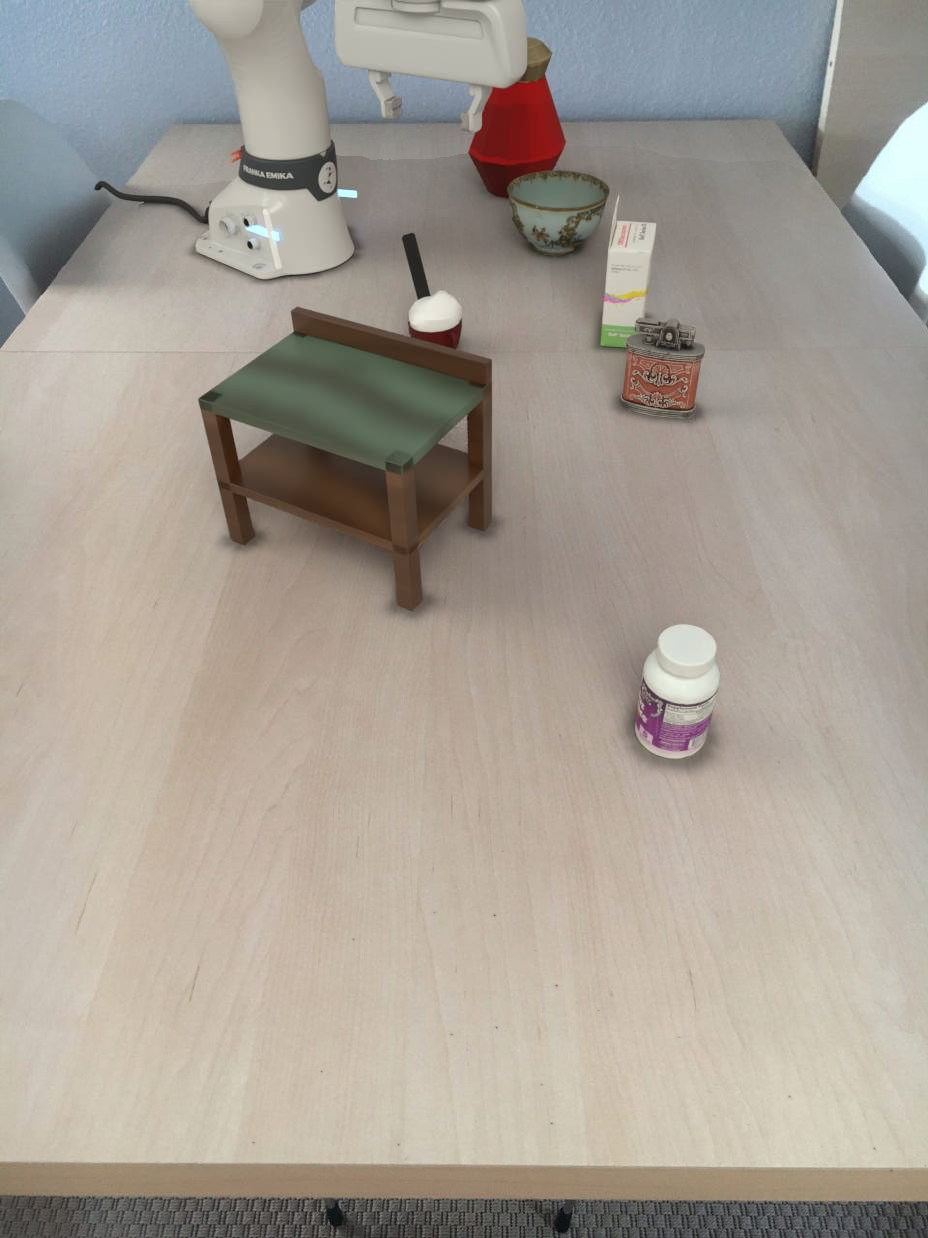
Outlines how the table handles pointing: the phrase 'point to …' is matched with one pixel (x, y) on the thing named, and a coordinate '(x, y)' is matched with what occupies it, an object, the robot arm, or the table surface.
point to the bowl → (557, 209)
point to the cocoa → (431, 305)
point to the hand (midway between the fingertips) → (431, 123)
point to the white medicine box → (626, 279)
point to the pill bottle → (678, 692)
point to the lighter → (662, 369)
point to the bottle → (519, 127)
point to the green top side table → (356, 436)
